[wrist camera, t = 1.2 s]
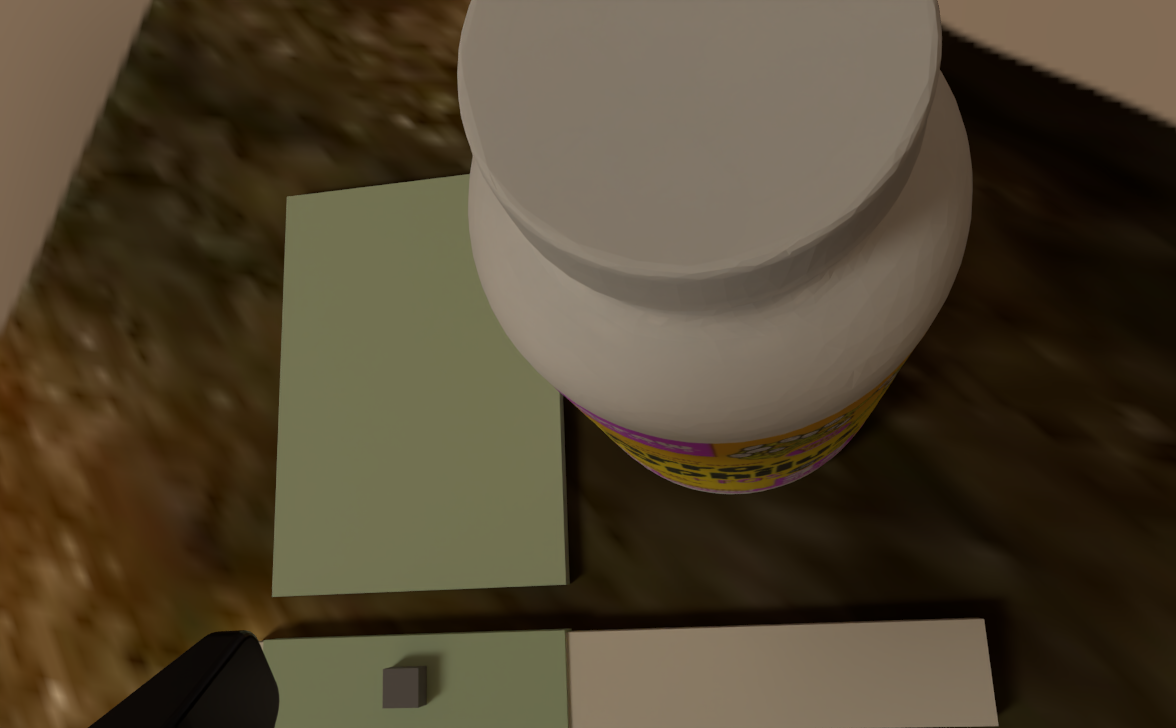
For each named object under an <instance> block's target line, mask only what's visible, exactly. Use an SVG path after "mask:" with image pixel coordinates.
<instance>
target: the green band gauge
mask: <svg viewBox="0 0 1176 728" xmlns="http://www.w3.org/2000/svg"><path fill="white" fill-rule="evenodd" d="M469 179H470V174H466V175H458V176H450V177H442V178H434V179H426V180H418V181H410V182H402V183H394V184H386V185H378V186H370V187H362V188H354V189H346V190H338V191H330V192H322V193H314V194H306V195H298V196H290V197H287V209H286V236H285V263H284V289H283V316H282V343H281V370H280V396H279V423H278V450H277V476H276V503H275V530H274V557H273V583H272V597H279V596H303V595H327V594H351V593H375V592H399V591H423V590H447V589H471V588H495V587H519V586H543V585H567V584H570V577H569V548H568V520H567V491H566V463H565V434H564V406H563V395H562V394H561V393H560V392H559V391H558V390H557V389H556V388H554V387H553V386H552V385H551V384H550V383H549V382H548V381H547V380H546V379H545V378H544V377H543V376H542V375H540V374H539V373H538V372H537V371H536V370H535V369H534V367H533V366H532V365H531V364H530V363H529V362H528V361H527V360H526V359H525V358H524V357H523V355H522V354H521V353H520V352H519V351H518V349H517V348H516V347H515V346H514V344H513V343H512V342H511V340H510V339H509V337H508V336H507V335H506V333H505V331H504V330H503V328H502V326H501V325H500V323H499V321H498V319H497V318H496V316H495V314H494V312H493V310H492V309H491V306H490V304H489V301H488V299H487V297H486V294H485V292H484V290H483V288H482V285H481V282H480V279H479V275H478V272H477V268H476V265H475V261H474V258H473V253H472V246H471V239H470V233H469V221H468V195H469ZM259 643H260V645H261V648H262V650H263V653H264V655H265V657H266V660H267V662H268V664H269V667H270V669H271V671H272V674H273V676H274V678H275V681H276V683H277V686H278V690H279V699H280V703H279V711H278V716H277V720H276V724H275V727H274V728H895V727H973V726H998V718H997V711H996V703H995V696H994V689H993V681H992V674H991V666H990V659H989V652H988V644H987V637H986V629H985V622H984V619H982V618H952V619H921V620H891V621H860V622H829V623H799V624H768V625H737V626H706V627H676V628H645V629H614V630H584V631H571V629H542V630H512V631H482V632H452V633H421V634H391V635H361V636H331V637H300V638H277V639H269V640H264V641H259Z"/></svg>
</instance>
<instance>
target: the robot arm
mask: <svg viewBox="0 0 1176 728" xmlns="http://www.w3.org/2000/svg"><path fill="white" fill-rule="evenodd" d="M279 703H280V699H279V690H278V686H277V683H276V681H275V678H274V676H273V674H272V671H271V669H270V667H269V664H268V662H267V660H266V657H265V655H264V653H263V650H262V648H261V645H260V643H259V641H258V639H257V637H256V636H255V635H254V634H253V633H251V632H249V631H245V630H241V631H221V632H214V633H211V634H209V635H207V636H205V637H204V638H203V639H201V640H200V641H199V642H197V643H196V644H195V645H194V646H192V647H191V648H190V649H188V650H187V651H186V652H185V653H183V654H182V655H181V656H179V657H178V658H177V659H176V660H174V661H173V662H172V663H170V664H169V665H168V666H167V667H165V668H164V669H163V670H161V671H160V672H159V673H158V674H156V675H155V676H154V677H152V678H151V679H150V680H149V681H147V682H146V683H145V684H144V685H142V686H141V687H140V688H138V689H137V690H136V691H135V692H133V693H132V694H131V695H129V696H128V697H127V698H126V699H124V700H123V701H122V702H120V703H119V704H118V705H117V706H115V707H114V708H113V709H111V710H110V711H109V712H108V713H106V714H105V715H104V716H102V717H101V718H100V719H99V720H97V721H96V722H95V723H93V724H92V725H91V726H90V727H88V728H274V727H275V724H276V720H277V716H278V711H279Z"/></svg>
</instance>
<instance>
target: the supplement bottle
mask: <svg viewBox="0 0 1176 728" xmlns="http://www.w3.org/2000/svg"><path fill="white" fill-rule="evenodd" d="M941 54H942V28H941V20H940V11H939V5H938V1H937V0H471V3H470V5H469V8H468V12H467V15H466V19H465V22H464V25H463V29H462V34H461V39H460V45H459V55H458V71H457V77H458V96H459V105H460V112H461V118H462V122H463V125H464V129H465V132H466V136H467V139H468V142H469V145H470V148H471V151H472V154H473V159H472V165H471V171H470V179H469V195H468V221H469V233H470V239H471V246H472V253H473V258H474V261H475V265H476V268H477V272H478V275H479V279H480V282H481V285H482V288H483V290H484V292H485V294H486V297H487V299H488V301H489V304H490V306H491V309H492V310H493V312H494V314H495V316H496V318H497V319H498V321H499V323H500V325H501V326H502V328H503V330H504V331H505V333H506V335H507V336H508V337H509V339H510V340H511V342H512V343H513V344H514V346H515V347H516V348H517V349H518V351H519V352H520V353H521V354H522V355H523V357H524V358H525V359H526V360H527V361H528V362H529V363H530V364H531V365H532V366H533V367H534V369H535V370H536V371H537V372H538V373H539V374H540V375H542V376H543V377H544V378H545V379H546V380H547V381H548V382H549V383H550V384H551V385H552V386H553V387H554V388H556V389H557V390H558V391H559V392H560V393H561V394H562V395H564V396H565V397H566V398H567V399H568V400H569V401H570V402H572V403H573V404H574V405H575V406H576V407H577V408H578V409H579V410H580V411H581V412H583V413H584V414H585V415H586V416H587V417H588V418H589V419H590V420H592V421H593V422H594V423H595V424H596V425H597V426H598V427H599V428H600V429H602V430H603V431H604V432H605V433H606V434H607V435H608V436H609V437H610V438H611V439H612V440H613V441H614V442H615V443H616V444H618V445H619V446H620V447H621V448H622V449H623V450H624V451H625V452H626V453H628V454H629V455H630V456H631V457H632V458H634V459H635V460H636V461H638V462H639V463H640V464H642V465H643V466H645V467H646V468H647V469H649V470H651V471H652V472H654V473H656V474H657V475H659V476H661V477H663V478H665V479H667V480H669V481H671V482H674V483H676V484H679V485H681V486H684V487H688V488H691V489H694V490H699V491H704V492H711V493H717V494H746V493H754V492H760V491H765V490H769V489H773V488H776V487H780V486H783V485H786V484H789V483H791V482H794V481H796V480H798V479H800V478H802V477H804V476H806V475H808V474H810V473H812V472H813V471H815V470H817V469H818V468H819V467H821V466H822V465H823V464H825V463H826V462H828V461H829V460H830V459H832V458H833V457H834V456H835V455H836V454H838V453H839V452H840V451H841V450H842V449H843V448H844V447H845V446H846V445H847V444H848V443H849V441H850V440H851V439H852V438H853V437H854V436H855V434H856V433H857V432H858V431H859V429H860V428H861V427H862V426H863V424H864V423H865V421H866V419H867V418H868V417H869V415H870V414H871V412H872V411H873V410H874V408H875V407H876V405H877V404H878V402H879V400H880V399H881V398H882V396H883V395H884V393H885V392H886V390H887V389H888V387H889V386H890V384H891V383H892V381H893V380H894V378H895V377H896V375H897V374H898V372H899V371H900V369H901V368H902V366H903V365H904V363H905V362H906V360H907V359H908V357H909V356H910V354H911V353H912V351H913V350H914V349H915V347H916V346H917V345H918V343H919V342H920V341H921V339H922V338H923V337H924V335H925V334H926V332H927V330H928V329H929V327H930V326H931V324H932V323H933V321H934V319H935V318H936V316H937V314H938V313H939V311H940V309H941V307H942V306H943V304H944V302H945V300H946V299H947V297H948V294H949V292H950V290H951V288H952V285H953V283H954V281H955V278H956V276H957V273H958V270H959V268H960V265H961V262H962V258H963V255H964V251H965V247H966V243H967V238H968V233H969V228H970V223H971V213H972V193H973V183H972V164H971V157H970V149H969V142H968V138H967V133H966V130H965V127H964V123H963V120H962V117H961V114H960V111H959V108H958V105H957V102H956V99H955V97H954V95H953V93H952V91H951V89H950V87H949V85H948V83H947V81H946V80H945V78H944V76H943V74H942V72H941V71H940V63H941Z"/></svg>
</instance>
